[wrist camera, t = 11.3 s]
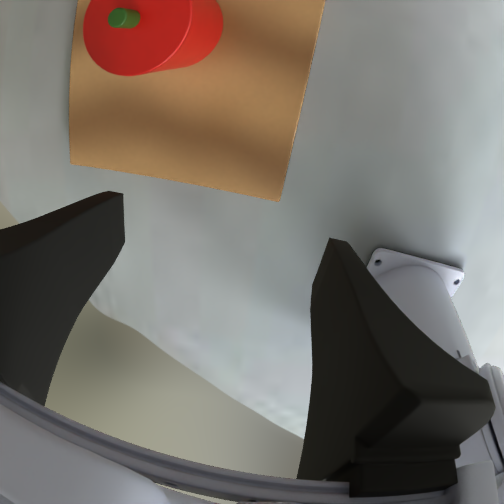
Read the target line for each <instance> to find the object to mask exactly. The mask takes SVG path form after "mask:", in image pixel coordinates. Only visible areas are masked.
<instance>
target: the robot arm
mask: <svg viewBox="0 0 504 504" xmlns="http://www.w3.org/2000/svg"><path fill="white" fill-rule="evenodd" d="M124 243H125V231H124V206H123V193H117V192H112V191H106V192H102V193H99V194H96V195H93V196H90V197H88V198H85V199H83V200H80V201H78V202H75V203H73V204H70V205H68V206H66V207H63V208H61V209H58V210H56V211H53V212H50V213H48V214H45V215H43V216H40V217H38V218H35V219H32V220H30V221H27V222H24V223H21V224H18V225H15V226H11V227H8V228H5V229H0V504H219V503H215V502H211V501H207V500H204V499H200V498H196V497H193V496H190V495H187V494H183V493H180V492H177V491H174V490H171V489H168V488H165V487H161V486H158V485H157V484H155V483H158V484H161V485H165V486H169V487H172V488H176V489H180V490H183V491H187V492H191V493H196V494H200V495H204V496H209V497H214V498H219V499H224V500H230V501H235V502H238V503H237V504H504V375H503V373H502V371H501V369H500V368H499V367H496V366H491V365H490V364H489V363H486V364H484V365H483V366H482V367H481V368H479V367H478V365H477V362H476V359H475V356H474V354H473V351H472V348H471V346H470V343H469V340H468V338H467V335H466V333H465V330H464V328H463V325H462V323H461V320H460V318H459V315H458V313H457V311H456V308H455V306H454V304H453V302H452V299H451V298H452V297H453V295H454V293H455V292H456V290H457V289H458V287H459V285H460V284H461V282H462V281H463V279H464V277H465V273H464V271H463V270H462V269H460V268H456V267H453V266H449V265H445V264H442V263H438V262H434V261H431V260H427V259H423V258H419V257H415V256H412V255H408V254H404V253H400V252H396V251H392V250H388V249H384V248H378V249H376V250H375V251H374V252H373V254H372V257H371V259H370V261H369V263H368V266H367V268H366V266H365V265H364V264H363V262H362V261H361V259H360V258H359V257H358V255H357V254H356V253H355V251H354V250H353V249H352V247H351V246H350V245H349V244H348V242H346V241H342V240H338V239H334V238H329V241H328V243H327V246H326V249H325V252H324V255H323V257H322V260H321V263H320V265H319V268H318V271H317V274H316V276H315V279H314V282H313V284H312V295H311V308H310V313H311V338H312V384H311V394H310V403H309V411H308V419H307V426H306V432H305V438H304V445H303V450H302V455H301V461H300V465H299V469H298V474H297V478H296V479H290V478H281V477H273V476H265V475H258V474H252V473H245V472H240V471H234V470H229V469H224V468H219V467H214V466H210V465H205V464H201V463H197V462H193V461H188V460H185V459H181V458H177V457H174V456H170V455H166V454H163V453H160V452H156V451H153V450H150V449H146V448H143V447H140V446H137V445H134V444H132V443H128V442H126V441H123V440H120V439H118V438H115V437H112V436H109V435H107V434H104V433H102V432H99V431H97V430H94V429H92V428H90V427H87V426H85V425H82V424H80V423H78V422H76V421H73V420H71V419H69V418H67V417H65V416H63V415H60V414H58V413H56V412H54V411H52V410H50V409H48V408H46V407H44V406H45V402H46V398H47V394H48V390H49V387H50V383H51V380H52V377H53V374H54V371H55V368H56V365H57V362H58V360H59V357H60V354H61V352H62V350H63V347H64V345H65V342H66V340H67V338H68V336H69V333H70V331H71V329H72V327H73V325H74V323H75V321H76V319H77V317H78V315H79V313H80V312H81V310H82V308H83V307H84V306H85V304H86V302H87V301H88V300H89V298H90V297H91V295H92V294H93V292H94V291H95V289H96V288H97V287H98V285H99V284H100V282H101V281H102V280H103V278H104V277H105V275H106V274H107V272H108V271H109V270H110V268H111V267H112V265H113V264H114V262H115V260H116V258H117V257H118V255H119V253H120V251H121V249H122V247H123V245H124ZM376 260H380V262H378V263H376V262H375V261H376ZM455 280H457V281H455ZM154 482H155V483H154Z"/></svg>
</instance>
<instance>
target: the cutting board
mask: <svg viewBox="0 0 504 504" xmlns="http://www.w3.org/2000/svg"><path fill="white" fill-rule="evenodd" d="M90 1H91V0H78V3H77V9H76V16H75V24H74V32H73V42H72V53H71V67H70V87H69V143H70V163H71V164H74V165H81V166H88V167H95V168H102V169H108V170H115V171H121V172H127V173H133V174H139V175H145V176H151V177H156V178H162V179H168V180H173V181H179V182H184V183H189V184H195V185H200V186H205V187H210V188H215V189H220V190H225V191H230V192H235V193H239V194H244V195H249V196H253V197H258V198H263V199H267V200H272V201H276V202H279V201H280V198H281V194H282V189H283V185H284V181H285V177H286V173H287V168H288V164H289V160H290V156H291V152H292V147H293V143H294V139H295V134H296V130H297V126H298V121H299V117H300V113H301V108H302V104H303V100H304V95H305V91H306V87H307V82H308V78H309V73H310V69H311V64H312V60H313V55H314V51H315V46H316V42H317V37H318V33H319V28H320V24H321V19H322V14H323V10H324V5H325V0H216V1H217V3H218V5H219V6H220V8H221V11H222V15H223V30H222V34H221V37H220V39H219V41H218V43H217V45H216V47H215V48H214V49H213V51H212V52H211V53H210V54H209V55H208V56H206V57H205V58H204V59H203V60H201V61H199V62H198V63H196V64H194V65H191V66H188V67H184V68H177V69H171V70H165V71H159V72H153V73H148V74H143V75H137V76H119V75H115V74H112V73H109V72H107V71H105V70H104V69H102V68H101V67H99V66H98V65H97V64H96V63H95V62H94V61H93V60H92V58H91V57H90V55H89V54H88V52H87V49H86V47H85V44H84V39H83V21H84V16H85V13H86V10H87V7H88V5H89V3H90Z"/></svg>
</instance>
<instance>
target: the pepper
mask: <svg viewBox="0 0 504 504" xmlns="http://www.w3.org/2000/svg"><path fill="white" fill-rule="evenodd" d="M222 30H223V15H222V11H221V8H220V6H219V5H218V3H217V1H216V0H91V1H90V3H89V5H88V7H87V10H86V13H85V16H84V21H83V39H84V44H85V47H86V49H87V52H88V54H89V55H90V57H91V58H92V60H93V61H94V62H95V63H96V64H97V65H98V66H99V67H101V68H102V69H104V70H105V71H107V72H109V73H112V74H115V75H119V76H137V75H143V74H148V73H153V72H159V71H165V70H171V69H177V68H184V67H188V66H191V65H194V64H196V63H198V62H199V61H201V60H203V59H204V58H205V57H206V56H208V55H209V54H210V53H211V52H212V51H213V49H214V48H215V47H216V45H217V43H218V41H219V39H220V37H221V34H222Z"/></svg>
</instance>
